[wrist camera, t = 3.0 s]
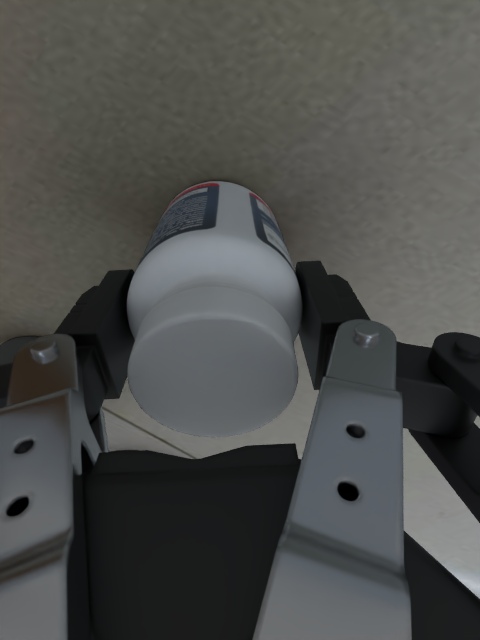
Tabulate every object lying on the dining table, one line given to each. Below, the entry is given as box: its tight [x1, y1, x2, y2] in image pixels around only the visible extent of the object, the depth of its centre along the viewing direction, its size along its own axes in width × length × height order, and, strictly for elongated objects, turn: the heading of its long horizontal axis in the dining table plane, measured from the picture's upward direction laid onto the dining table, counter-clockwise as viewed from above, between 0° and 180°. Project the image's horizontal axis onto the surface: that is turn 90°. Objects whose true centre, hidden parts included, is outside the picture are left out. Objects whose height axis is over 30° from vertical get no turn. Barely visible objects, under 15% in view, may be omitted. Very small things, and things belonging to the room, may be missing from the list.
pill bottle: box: [127, 181, 303, 437], centre depth 12 cm, size 5×5×9 cm
